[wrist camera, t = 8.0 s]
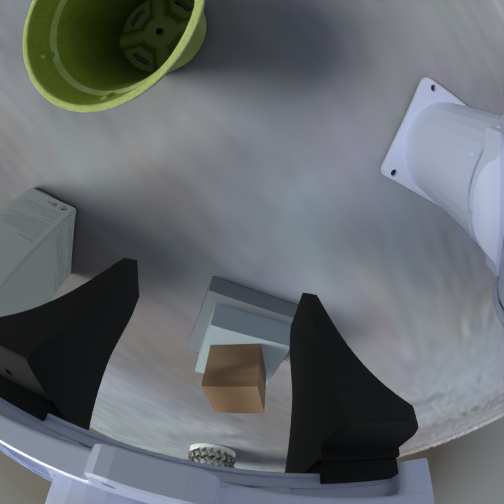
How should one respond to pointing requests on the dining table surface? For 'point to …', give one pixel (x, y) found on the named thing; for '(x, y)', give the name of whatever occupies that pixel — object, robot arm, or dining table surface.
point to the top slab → (246, 336)
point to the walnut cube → (235, 378)
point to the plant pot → (107, 48)
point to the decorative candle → (212, 454)
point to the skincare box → (34, 250)
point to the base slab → (238, 307)
